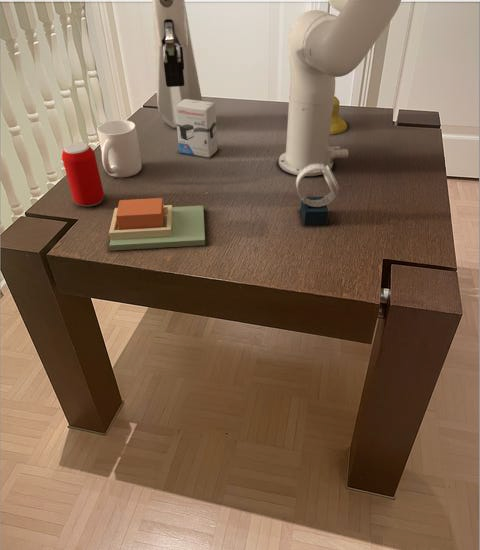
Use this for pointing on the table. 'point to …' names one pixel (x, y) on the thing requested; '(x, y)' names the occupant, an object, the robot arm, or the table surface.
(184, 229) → the base pad
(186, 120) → the ink box
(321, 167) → the grey ring dark base
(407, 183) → the table surface
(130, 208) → the orange box
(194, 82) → the vase
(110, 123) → the mug
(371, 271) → the table surface
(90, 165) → the beverage can
